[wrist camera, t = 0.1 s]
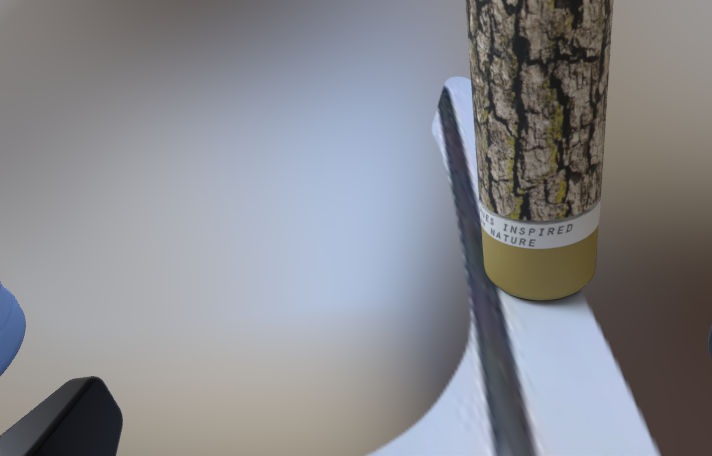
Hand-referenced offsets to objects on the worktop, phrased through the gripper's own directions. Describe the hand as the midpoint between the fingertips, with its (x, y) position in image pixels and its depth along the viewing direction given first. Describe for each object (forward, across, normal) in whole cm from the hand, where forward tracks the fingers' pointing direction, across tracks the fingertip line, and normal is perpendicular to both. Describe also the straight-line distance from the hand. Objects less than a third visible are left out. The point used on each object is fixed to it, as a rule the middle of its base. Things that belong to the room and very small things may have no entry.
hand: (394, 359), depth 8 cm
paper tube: (+23, -8, +17) cm, 29 cm away
